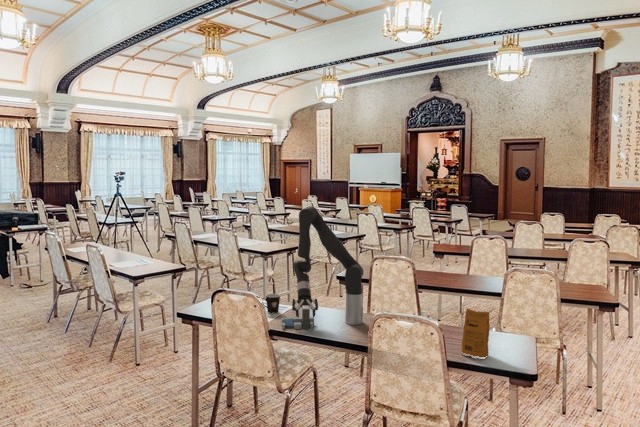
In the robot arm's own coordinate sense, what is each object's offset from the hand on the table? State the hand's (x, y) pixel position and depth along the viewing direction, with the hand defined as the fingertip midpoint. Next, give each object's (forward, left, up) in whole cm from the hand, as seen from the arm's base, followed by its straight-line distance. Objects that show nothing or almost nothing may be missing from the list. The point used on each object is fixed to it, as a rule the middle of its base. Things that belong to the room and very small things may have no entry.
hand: (305, 316), depth 265 cm
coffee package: (-75, +47, -7) cm, 89 cm away
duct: (+4, -3, -6) cm, 8 cm away
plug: (0, -1, -6) cm, 7 cm away
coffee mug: (+18, -33, -7) cm, 38 cm away
